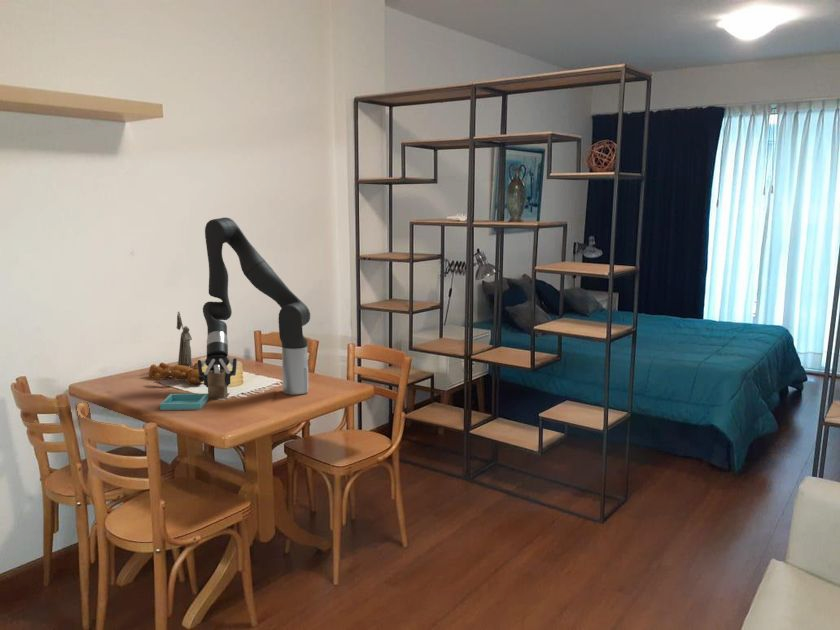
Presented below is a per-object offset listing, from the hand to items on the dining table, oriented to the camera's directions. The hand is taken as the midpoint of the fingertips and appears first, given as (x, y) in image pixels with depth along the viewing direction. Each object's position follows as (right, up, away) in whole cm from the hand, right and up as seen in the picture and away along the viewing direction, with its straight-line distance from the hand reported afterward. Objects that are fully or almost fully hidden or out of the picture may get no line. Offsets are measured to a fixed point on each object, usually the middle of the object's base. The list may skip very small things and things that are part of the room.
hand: (217, 385), depth 233 cm
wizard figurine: (-27, +2, +43) cm, 51 cm away
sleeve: (0, -4, +2) cm, 5 cm away
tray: (-9, -6, -8) cm, 13 cm away
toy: (-22, -1, +24) cm, 33 cm away
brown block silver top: (0, -5, +2) cm, 5 cm away
